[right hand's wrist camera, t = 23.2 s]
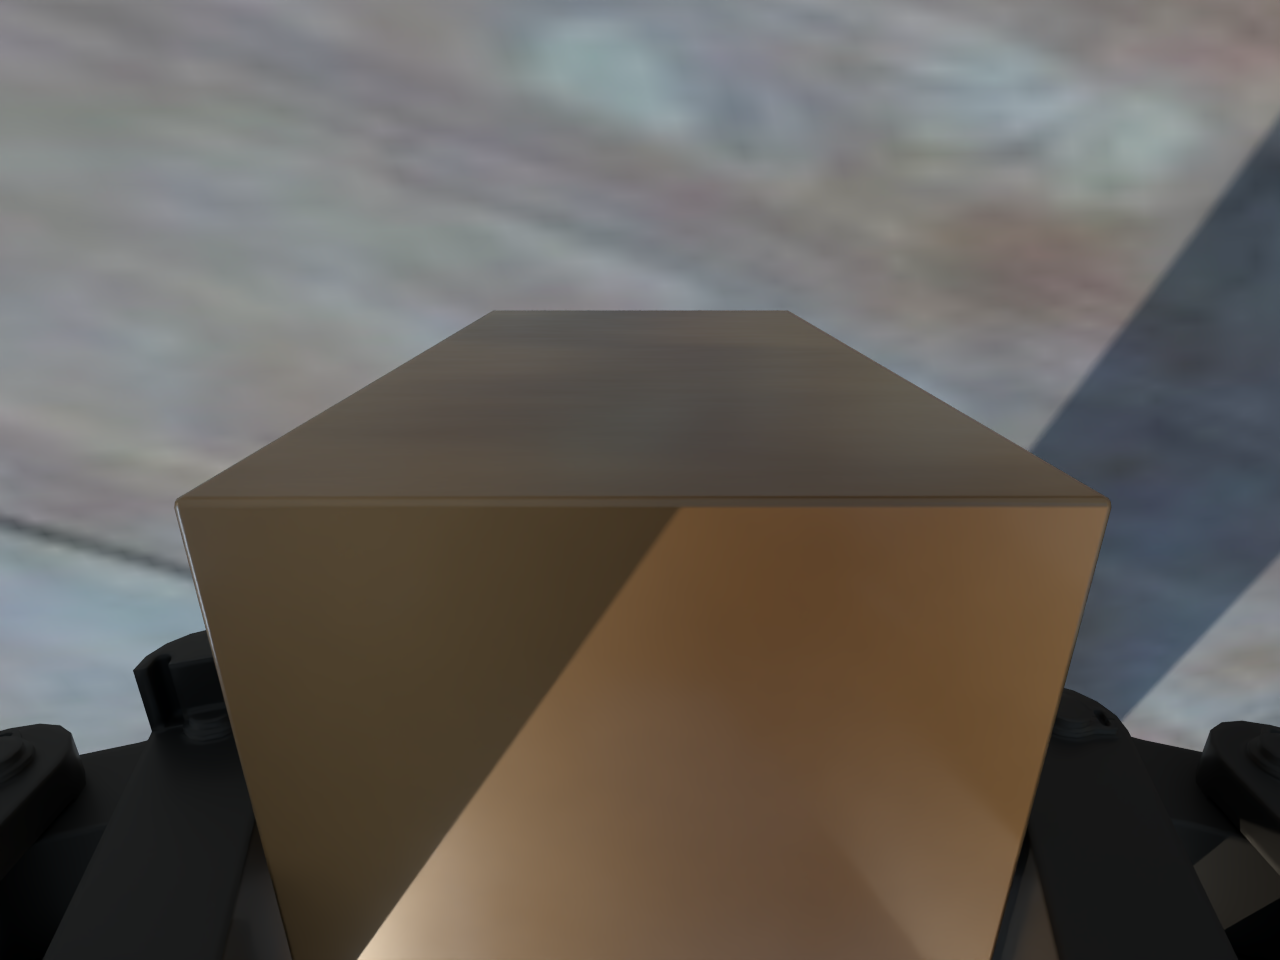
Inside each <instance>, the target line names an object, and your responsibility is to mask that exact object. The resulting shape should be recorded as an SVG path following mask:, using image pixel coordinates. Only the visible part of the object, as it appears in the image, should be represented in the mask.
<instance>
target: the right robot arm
mask: <svg viewBox="0 0 1280 960" xmlns="http://www.w3.org/2000/svg"><path fill="white" fill-rule="evenodd" d="M133 672H134V675H135V678H136V682H137V685H138V688H139V691H140V694H141V698H142V701H143V704H144V707H145V710H146V714H147V717H148V720H149V723H150V726H151V730H152V733H151V735H150V737H149V739H148V740H147V741H143V742H140V743H135V744H130V745H125V746H121V747H116V748H111V749H106V750H101V751H97V752H92V753H87V754H82V755H79V753H78V750H77V748H76V745H75V742H74V739H73V737H72V734H71V733H70V732H69V731H67V730H66V729H65V728H63V727H62V726H60V725H49V724H35V725H28V726H22V727H16V728H10V729H6V730H2V731H0V960H292V958H291V954H290V950H289V946H288V943H287V939H286V935H285V931H284V927H283V923H282V919H281V916H280V912H279V908H278V904H277V900H276V896H275V893H274V889H273V885H272V881H271V877H270V873H269V870H268V866H267V862H266V858H265V854H264V850H263V846H262V843H261V839H260V835H259V831H258V827H257V823H256V820H255V816H254V812H253V808H252V804H251V800H250V797H249V793H248V789H247V785H246V781H245V777H244V774H243V770H242V766H241V762H240V758H239V754H238V750H237V747H236V743H235V739H234V735H233V731H232V727H231V724H230V720H229V716H228V712H227V708H226V704H225V701H224V697H223V693H222V689H221V685H220V681H219V677H218V674H217V670H216V666H215V662H214V658H213V654H212V651H211V647H210V643H209V639H208V635H207V631H206V630H205V631H201V632H197V633H192V634H189V635H187V636H184V637H182V638H179V639H177V640H174V641H172V642H170V643H167V644H165V645H164V646H162V647H160V648H159V649H157V650H156V651H154V652H152V653H151V654H149V655H148V656H146V657H145V658H144V659H143V660H142V661H141V662H140V664H139V665H138V666H137V667H136V668H135V669H134V670H133ZM992 960H1280V727H1276V726H1272V725H1266V724H1260V723H1253V722H1247V721H1233V722H1222V723H1220V724H1219V725H1217V726H1216V727H1214V728H1213V729H1211V730H1210V733H1209V736H1208V738H1207V741H1206V744H1205V747H1204V749H1203V752H1199V751H1194V750H1189V749H1184V748H1179V747H1174V746H1170V745H1165V744H1160V743H1155V742H1150V741H1145V740H1141V739H1137V738H1134V737H1131V736H1130V734H1129V732H1128V730H1127V729H1126V727H1125V726H1124V725H1123V724H1122V722H1121V721H1120V720H1119V719H1118V717H1117V716H1116V715H1115V714H1113V713H1112V712H1111V711H1109V710H1108V709H1106V708H1105V707H1104V706H1102V705H1101V704H1100V703H1098V702H1097V701H1095V700H1093V699H1090V698H1088V697H1086V696H1084V695H1082V694H1080V693H1078V692H1075V691H1073V690H1069V689H1066V688H1064V689H1063V693H1062V696H1061V700H1060V704H1059V708H1058V712H1057V715H1056V719H1055V723H1054V727H1053V731H1052V734H1051V738H1050V742H1049V746H1048V750H1047V753H1046V757H1045V761H1044V765H1043V769H1042V772H1041V776H1040V780H1039V784H1038V788H1037V791H1036V795H1035V799H1034V803H1033V807H1032V810H1031V814H1030V818H1029V822H1028V826H1027V829H1026V833H1025V837H1024V841H1023V845H1022V848H1021V852H1020V856H1019V860H1018V864H1017V867H1016V871H1015V875H1014V879H1013V883H1012V886H1011V890H1010V894H1009V898H1008V902H1007V905H1006V909H1005V913H1004V917H1003V920H1002V924H1001V928H1000V932H999V936H998V939H997V943H996V947H995V951H994V955H993V958H992Z"/></svg>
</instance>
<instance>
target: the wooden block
mask: <svg viewBox="0 0 1280 960" xmlns="http://www.w3.org/2000/svg"><path fill="white" fill-rule="evenodd" d="M174 508H175V512H176V516H177V520H178V524H179V528H180V532H181V535H182V539H183V543H184V547H185V551H186V555H187V558H188V562H189V566H190V570H191V574H192V578H193V581H194V585H195V589H196V593H197V597H198V601H199V605H200V608H201V612H202V616H203V620H204V624H205V628H206V631H207V635H208V639H209V643H210V647H211V651H212V654H213V658H214V662H215V666H216V670H217V674H218V677H219V681H220V685H221V689H222V693H223V697H224V701H225V704H226V708H227V712H228V716H229V720H230V724H231V727H232V731H233V735H234V739H235V743H236V747H237V750H238V754H239V758H240V762H241V766H242V770H243V774H244V777H245V781H246V785H247V789H248V793H249V797H250V800H251V804H252V808H253V812H254V816H255V820H256V823H257V827H258V831H259V835H260V839H261V843H262V846H263V850H264V854H265V858H266V862H267V866H268V870H269V873H270V877H271V881H272V885H273V889H274V893H275V896H276V900H277V904H278V908H279V912H280V916H281V919H282V923H283V927H284V931H285V935H286V939H287V943H288V946H289V950H290V954H291V958H292V960H992V958H993V955H994V951H995V947H996V943H997V939H998V936H999V932H1000V928H1001V924H1002V920H1003V917H1004V913H1005V909H1006V905H1007V902H1008V898H1009V894H1010V890H1011V886H1012V883H1013V879H1014V875H1015V871H1016V867H1017V864H1018V860H1019V856H1020V852H1021V848H1022V845H1023V841H1024V837H1025V833H1026V829H1027V826H1028V822H1029V818H1030V814H1031V810H1032V807H1033V803H1034V799H1035V795H1036V791H1037V788H1038V784H1039V780H1040V776H1041V772H1042V769H1043V765H1044V761H1045V757H1046V753H1047V750H1048V746H1049V742H1050V738H1051V734H1052V731H1053V727H1054V723H1055V719H1056V715H1057V712H1058V708H1059V704H1060V700H1061V696H1062V693H1063V689H1064V685H1065V681H1066V677H1067V674H1068V670H1069V666H1070V662H1071V659H1072V655H1073V651H1074V647H1075V643H1076V640H1077V636H1078V632H1079V628H1080V624H1081V621H1082V617H1083V613H1084V609H1085V605H1086V602H1087V598H1088V594H1089V590H1090V586H1091V583H1092V579H1093V575H1094V571H1095V567H1096V564H1097V560H1098V556H1099V552H1100V548H1101V545H1102V541H1103V537H1104V533H1105V529H1106V526H1107V522H1108V518H1109V514H1110V510H1111V502H1110V500H1109V498H1107V497H1105V496H1104V495H1102V494H1100V493H1099V492H1097V491H1095V490H1093V489H1092V488H1090V487H1088V486H1087V485H1085V484H1083V483H1082V482H1080V481H1078V480H1076V479H1075V478H1073V477H1071V476H1070V475H1068V474H1066V473H1064V472H1063V471H1061V470H1059V469H1058V468H1056V467H1054V466H1052V465H1051V464H1049V463H1047V462H1046V461H1044V460H1042V459H1041V458H1039V457H1037V456H1035V455H1034V454H1032V453H1030V452H1029V451H1027V450H1025V449H1023V448H1022V447H1020V446H1018V445H1017V444H1015V443H1013V442H1011V441H1010V440H1008V439H1006V438H1005V437H1003V436H1001V435H1000V434H998V433H996V432H994V431H993V430H991V429H989V428H988V427H986V426H984V425H982V424H981V423H979V422H977V421H976V420H974V419H972V418H971V417H969V416H967V415H965V414H964V413H962V412H960V411H959V410H957V409H955V408H953V407H952V406H950V405H948V404H947V403H945V402H943V401H941V400H940V399H938V398H936V397H935V396H933V395H931V394H930V393H928V392H926V391H924V390H923V389H921V388H919V387H918V386H916V385H914V384H912V383H911V382H909V381H907V380H906V379H904V378H902V377H901V376H899V375H897V374H895V373H894V372H892V371H890V370H889V369H887V368H885V367H883V366H882V365H880V364H878V363H877V362H875V361H873V360H871V359H870V358H868V357H866V356H865V355H863V354H861V353H860V352H858V351H856V350H854V349H853V348H851V347H849V346H848V345H846V344H844V343H842V342H841V341H839V340H837V339H836V338H834V337H832V336H831V335H829V334H827V333H825V332H824V331H822V330H820V329H819V328H817V327H815V326H813V325H812V324H810V323H808V322H807V321H805V320H803V319H801V318H800V317H798V316H796V315H795V314H793V313H791V312H789V311H492V312H490V313H488V314H487V315H485V316H483V317H482V318H480V319H478V320H477V321H475V322H473V323H471V324H470V325H468V326H466V327H465V328H463V329H461V330H460V331H458V332H456V333H455V334H453V335H451V336H450V337H448V338H446V339H445V340H443V341H441V342H440V343H438V344H436V345H434V346H433V347H431V348H429V349H428V350H426V351H424V352H423V353H421V354H419V355H418V356H416V357H414V358H413V359H411V360H409V361H408V362H406V363H404V364H403V365H401V366H399V367H397V368H396V369H394V370H392V371H391V372H389V373H387V374H386V375H384V376H382V377H381V378H379V379H377V380H376V381H374V382H372V383H371V384H369V385H367V386H366V387H364V388H362V389H361V390H359V391H357V392H355V393H354V394H352V395H350V396H349V397H347V398H345V399H344V400H342V401H340V402H339V403H337V404H335V405H334V406H332V407H330V408H329V409H327V410H325V411H324V412H322V413H320V414H318V415H317V416H315V417H313V418H312V419H310V420H308V421H307V422H305V423H303V424H302V425H300V426H298V427H297V428H295V429H293V430H292V431H290V432H288V433H287V434H285V435H283V436H281V437H280V438H278V439H276V440H275V441H273V442H271V443H270V444H268V445H266V446H265V447H263V448H261V449H260V450H258V451H256V452H255V453H253V454H251V455H250V456H248V457H246V458H244V459H243V460H241V461H239V462H238V463H236V464H234V465H233V466H231V467H229V468H228V469H226V470H224V471H223V472H221V473H219V474H218V475H216V476H214V477H213V478H211V479H209V480H207V481H206V482H204V483H202V484H201V485H199V486H197V487H196V488H194V489H192V490H191V491H189V492H187V493H186V494H184V495H182V496H181V497H179V498H177V500H176V501H175V507H174Z"/></svg>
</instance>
